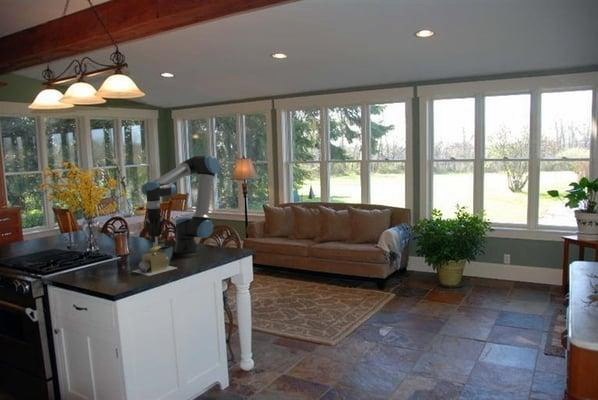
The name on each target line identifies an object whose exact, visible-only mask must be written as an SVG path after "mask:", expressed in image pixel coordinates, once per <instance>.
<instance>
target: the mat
mask: <svg viewBox="0 0 598 400" xmlns="http://www.w3.org/2000/svg"><path fill="white" fill-rule="evenodd" d="M177 269H178V267H176V266H171V265H169V266H167V269H164V270H160V271H156V272H152V273H151V272H145V273H143V272H142V271H140V270H139V268H138V269H134V270H131V272H133V273H137V274H141V275H145V276H149V277H150V276H153V275H157V274H160V273H162V274H163V273H166V272H168V271H172V270H177Z"/></svg>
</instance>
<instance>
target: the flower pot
mask: <svg viewBox="0 0 598 400" xmlns="http://www.w3.org/2000/svg"><path fill="white" fill-rule="evenodd" d="M173 249H174V248H173V246H166V245H165V246H164V247H162V248H159V249H157V251H156V252H162V253H166V256H167V257H169V259H170V260H171V259H172V257H173Z"/></svg>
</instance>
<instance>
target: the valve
mask: <svg viewBox="0 0 598 400" xmlns="http://www.w3.org/2000/svg"><path fill="white" fill-rule="evenodd" d="M170 264H171V259H169V257H167V256H166V253H162V252H156V251H154V252H149V253H145V254H141V260H140V261H139V263H138V264H137V265H138V266H137V267H138V269H139V270H140V271H142V272H143V273H145V272H151V273H152V272H156V271H160V270H164V269H167V266H170Z"/></svg>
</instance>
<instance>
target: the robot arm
mask: <svg viewBox="0 0 598 400" xmlns="http://www.w3.org/2000/svg"><path fill="white" fill-rule="evenodd" d="M219 171H220V162H219V160H218V158H217V157H216V156H214V155H201V156H200V155H195V156H193V157H190V158H187V159H186V160H184V161H181V162H180V164H179V166H177V167H175V168H174V169H172V170H170V171H168V172H167V173H165V174H163V175H161V176H159V177H158V178H156V179H155V180H151V181H146V183H143V184H142V185H141V188H140V189H141V191H140V192H141V193H142V194H143V195H144V196H145V197H146V208H147V209H146V214H147V217H146V220H143V224H145V227H146V231H147V236H148V237H150V238H151V242H152V244H153V245H152V248H154V247H156V246H157V245H159V241H160V236H162V234H163V227H164V222H165V220H166V218H163V217H162V216H161V214H162V213H161V212H162V210H161V198H162V197H168V196H169V197H170V196H173V195H175V194H176V191H177V187H176V185H175V184H174V183H176V182H178V181H179V180H181V179H183V178H184V177H189V176H191V175H193V174H194V175H195V174H196V175H197V177H198V184H197V185H198V186H197V193H196V203H195V213H194V214H193V215H192V216H187V217H186V216H185V217H181V218H176V220H175V235H176V243H175V246H174V247H175V248H174V253H175V254H179V255H185V254H192V253H193V254H194V253H196V252H198V251H199V247H198V245H197V242H196V240H195V238H197V239H198V238H199V239H205V238H209V237H210V236H211V235H212V233H213V230H214V224H213V221H212V220H211V217H210V216H209V214H210V212H209V211H210V204H211V203H210V202H211V194H212V186H213V185H212V184H213V179H214V178H215V177H216V174H218V173H219Z"/></svg>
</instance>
